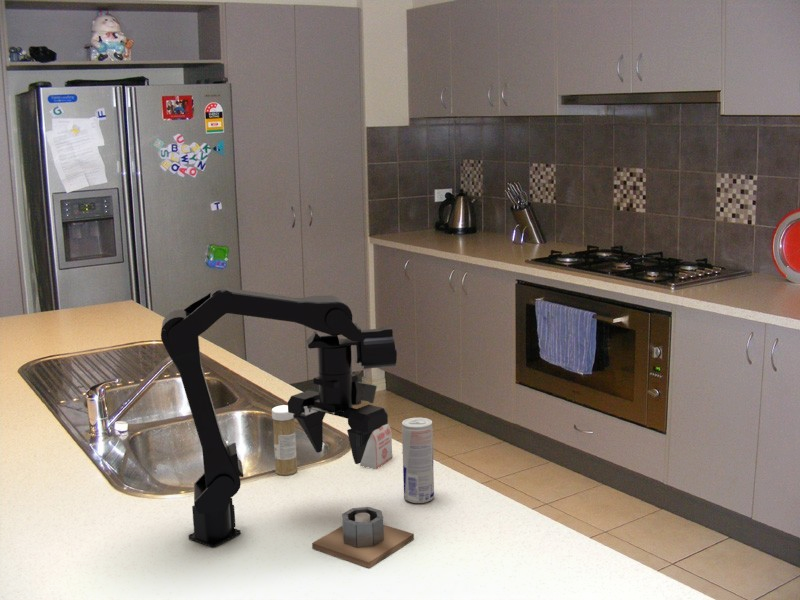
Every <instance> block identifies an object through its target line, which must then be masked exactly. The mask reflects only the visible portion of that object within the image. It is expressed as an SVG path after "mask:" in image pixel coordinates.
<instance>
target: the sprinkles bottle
mask: <svg viewBox="0 0 800 600" xmlns="http://www.w3.org/2000/svg"><path fill="white" fill-rule="evenodd" d="M293 415H294V414H293V413H289V412H288V404H286V405H285V404H282V405H278V406H277V405H276V406H275V407H273V408H272V409H271V418H272V420H273V421H272V423H273V424H272V425H273V448H274V449H273V450H274V451H273V452H274V458H275V459H274V462H275V470H274V472H275V473H276V475H280V476H289V475H293V474H295V473H297V472H298V467H297V466H298V465H297V440H296V439H297V438H296V425H295V420H296V419H295V418H294V417H293Z"/></svg>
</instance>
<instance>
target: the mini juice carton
mask: <svg viewBox="0 0 800 600" xmlns="http://www.w3.org/2000/svg"><path fill="white" fill-rule="evenodd" d="M392 437H393V436H392V429H391V427H390V425H389V423H388V424H386V425H383V426H381V428H379V429H376V430H374V431H373V433H372V434H371V436H370V438H369V440H368V443H367V446H366V448H365V451H364V454H363V457H362V460H361V463H359V464H360V465H359V466H364V467H363V468H366V467H369V468H368V469H371V468H373V469H372V470H377V469H379V468H381V467H382V466H383V465H385V464H386V463H388V462H389V461H390V460H392V459H393V438H392ZM384 463H385V464H384ZM381 465H382V466H381ZM378 467H379V468H378Z"/></svg>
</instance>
